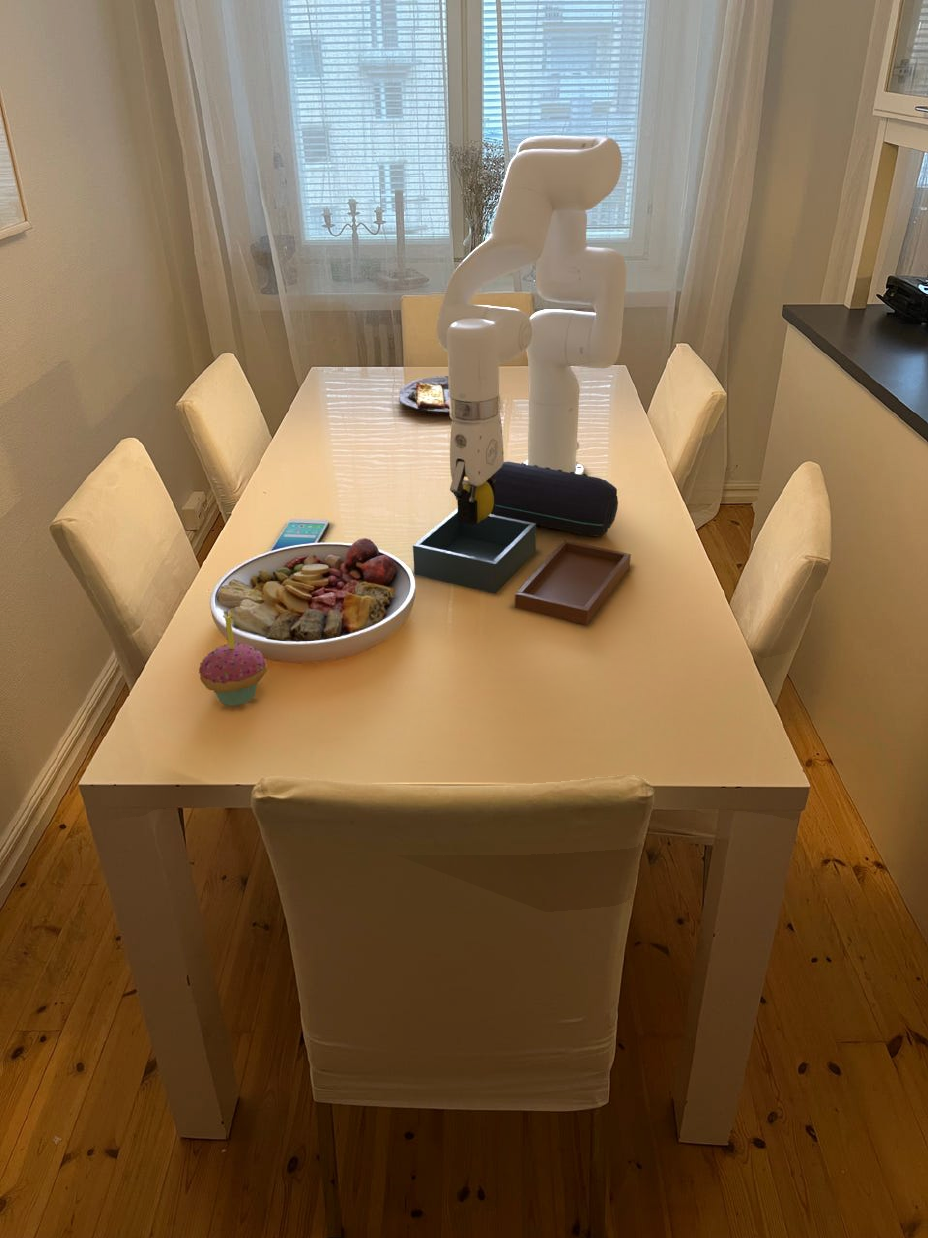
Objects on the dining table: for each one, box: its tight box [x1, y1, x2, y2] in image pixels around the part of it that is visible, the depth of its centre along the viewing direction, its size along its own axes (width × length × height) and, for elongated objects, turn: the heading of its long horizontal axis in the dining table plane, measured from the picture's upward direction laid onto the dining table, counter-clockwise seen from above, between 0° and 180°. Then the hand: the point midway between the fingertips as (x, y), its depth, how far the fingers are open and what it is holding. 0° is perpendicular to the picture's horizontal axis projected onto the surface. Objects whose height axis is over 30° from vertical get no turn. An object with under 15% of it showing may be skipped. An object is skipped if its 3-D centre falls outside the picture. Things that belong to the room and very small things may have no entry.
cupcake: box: [198, 610, 268, 707], centre depth 120 cm, size 9×8×12 cm
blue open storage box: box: [412, 507, 537, 595], centre depth 152 cm, size 16×15×5 cm
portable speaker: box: [490, 461, 619, 537], centre depth 162 cm, size 25×10×10 cm, turn 62°
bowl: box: [209, 537, 417, 664], centre depth 138 cm, size 30×30×8 cm
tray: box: [514, 540, 632, 626], centre depth 145 cm, size 20×12×2 cm, turn 153°
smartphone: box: [268, 518, 330, 552], centre depth 160 cm, size 8×1×15 cm
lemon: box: [463, 479, 494, 523], centre depth 148 cm, size 6×6×8 cm
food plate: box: [398, 375, 450, 413], centre depth 221 cm, size 25×23×4 cm
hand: (476, 512), depth 149 cm, fingers closed on lemon, 5 cm apart
